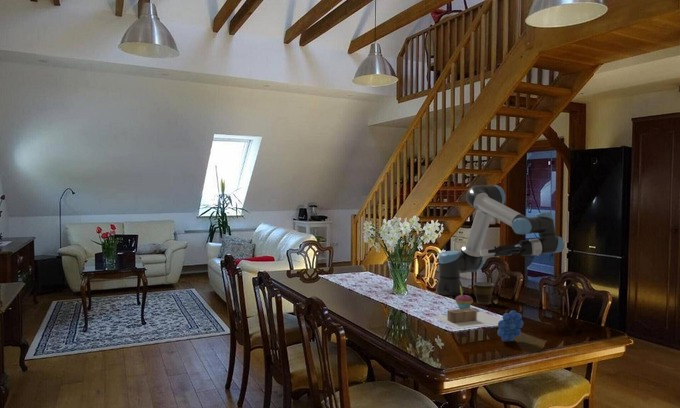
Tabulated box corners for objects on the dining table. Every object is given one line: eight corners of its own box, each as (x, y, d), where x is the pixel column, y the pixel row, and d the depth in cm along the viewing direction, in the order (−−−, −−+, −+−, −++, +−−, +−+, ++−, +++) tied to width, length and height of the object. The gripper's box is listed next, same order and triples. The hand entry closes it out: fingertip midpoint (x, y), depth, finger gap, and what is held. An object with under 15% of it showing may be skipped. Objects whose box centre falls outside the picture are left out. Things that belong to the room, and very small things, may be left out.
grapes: (515, 336, 192) (515, 306, 191) (527, 341, 185) (527, 310, 185) (490, 339, 188) (490, 309, 188) (502, 344, 182) (501, 313, 181)
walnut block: (470, 317, 218) (447, 320, 214) (470, 308, 217) (447, 310, 214) (477, 320, 213) (453, 323, 209) (477, 310, 213) (453, 313, 209)
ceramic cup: (491, 300, 252) (491, 282, 252) (495, 305, 242) (495, 285, 242) (466, 300, 254) (466, 281, 253) (469, 305, 244) (469, 285, 243)
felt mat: (433, 318, 220) (433, 316, 220) (482, 312, 228) (482, 311, 228) (457, 330, 201) (457, 328, 201) (509, 323, 209) (509, 322, 209)
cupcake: (453, 310, 234) (453, 285, 233) (457, 306, 241) (457, 282, 241) (471, 312, 230) (471, 287, 229) (474, 308, 237) (474, 284, 237)
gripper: (537, 251, 219) (486, 256, 218) (526, 259, 231) (478, 264, 230) (532, 235, 222) (482, 241, 221) (522, 244, 234) (475, 249, 233)
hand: (480, 253), depth 225 cm, fingers closed
